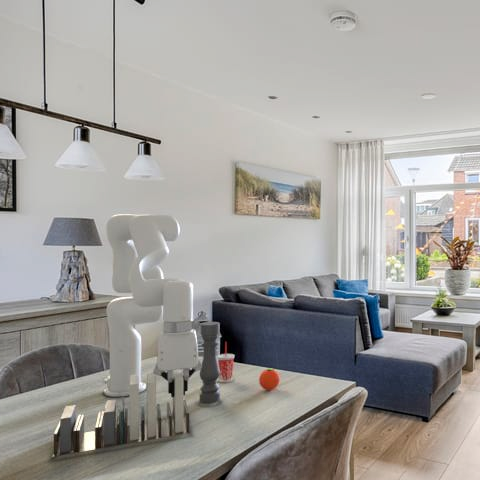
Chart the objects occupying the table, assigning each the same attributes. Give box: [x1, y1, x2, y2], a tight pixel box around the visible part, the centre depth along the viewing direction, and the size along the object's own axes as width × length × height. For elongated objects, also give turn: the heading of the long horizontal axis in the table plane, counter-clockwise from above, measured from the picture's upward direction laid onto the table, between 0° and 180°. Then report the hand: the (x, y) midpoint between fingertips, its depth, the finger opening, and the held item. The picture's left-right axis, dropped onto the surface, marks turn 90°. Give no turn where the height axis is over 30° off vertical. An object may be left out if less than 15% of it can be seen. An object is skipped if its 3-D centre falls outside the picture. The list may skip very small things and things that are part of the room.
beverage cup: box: [216, 341, 236, 383], centre depth 164 cm, size 6×6×14 cm
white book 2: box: [146, 372, 157, 438], centre depth 119 cm, size 2×9×14 cm, turn 26°
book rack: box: [52, 396, 191, 458], centre depth 116 cm, size 30×12×9 cm, turn 116°
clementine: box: [258, 367, 281, 391], centre depth 155 cm, size 8×7×7 cm
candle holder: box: [198, 321, 221, 404], centre depth 141 cm, size 6×6×25 cm
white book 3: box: [172, 369, 184, 433], centre depth 121 cm, size 2×9×14 cm, turn 26°
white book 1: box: [129, 374, 140, 441], centre depth 117 cm, size 2×9×14 cm, turn 26°
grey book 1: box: [59, 404, 77, 453], centre depth 110 cm, size 2×9×8 cm, turn 26°
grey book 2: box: [104, 399, 117, 445], centre depth 114 cm, size 2×9×8 cm, turn 26°
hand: (177, 394), depth 121 cm, fingers closed on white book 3, 2 cm apart
